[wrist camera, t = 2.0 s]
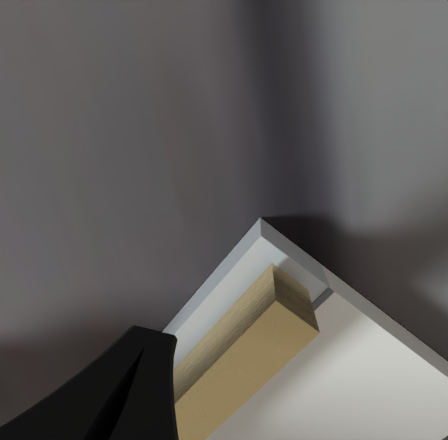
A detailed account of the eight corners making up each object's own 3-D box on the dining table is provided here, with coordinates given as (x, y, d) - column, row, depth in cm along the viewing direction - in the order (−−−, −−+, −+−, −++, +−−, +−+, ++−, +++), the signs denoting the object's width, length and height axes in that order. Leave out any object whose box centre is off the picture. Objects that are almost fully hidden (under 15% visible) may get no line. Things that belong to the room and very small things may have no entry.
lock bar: (163, 441, 19) (145, 506, 16) (120, 414, 19) (93, 475, 16) (314, 292, 15) (328, 339, 12) (264, 255, 15) (266, 293, 12)
